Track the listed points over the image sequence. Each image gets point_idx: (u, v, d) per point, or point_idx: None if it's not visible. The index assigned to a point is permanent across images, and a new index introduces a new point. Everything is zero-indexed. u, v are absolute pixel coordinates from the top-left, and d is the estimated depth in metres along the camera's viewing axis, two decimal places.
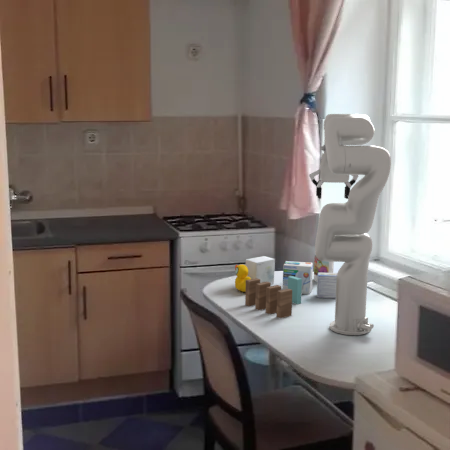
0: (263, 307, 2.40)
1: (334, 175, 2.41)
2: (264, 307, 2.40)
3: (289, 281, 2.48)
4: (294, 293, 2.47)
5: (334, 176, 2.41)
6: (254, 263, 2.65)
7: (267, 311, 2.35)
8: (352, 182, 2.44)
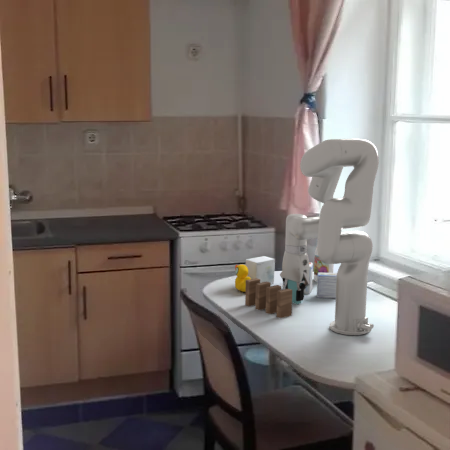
0: (263, 307, 2.40)
1: None
2: (264, 307, 2.40)
3: (289, 281, 2.48)
4: (294, 293, 2.47)
5: None
6: (254, 263, 2.65)
7: (267, 311, 2.35)
8: None
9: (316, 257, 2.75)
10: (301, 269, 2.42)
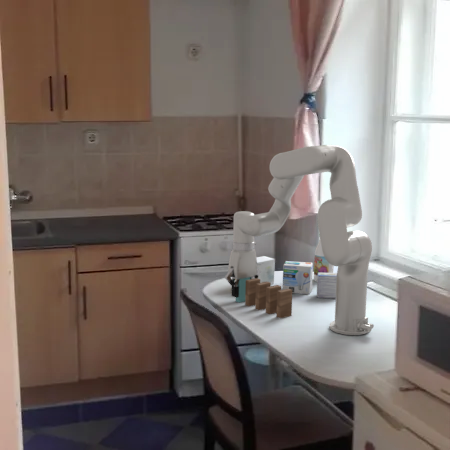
0: (263, 307, 2.40)
1: None
2: (264, 307, 2.40)
3: (241, 282, 2.46)
4: None
5: None
6: None
7: (267, 311, 2.35)
8: None
9: (316, 257, 2.75)
10: None
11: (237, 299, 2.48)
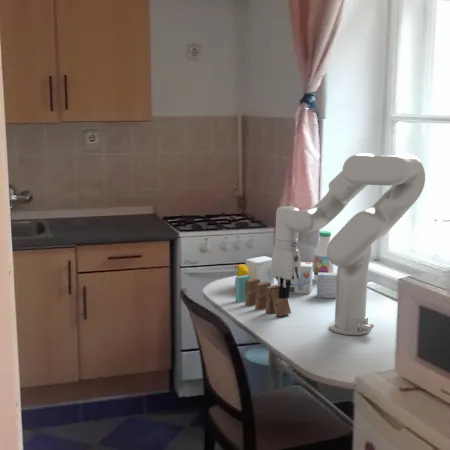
0: (263, 307, 2.40)
1: None
2: (264, 307, 2.40)
3: (241, 282, 2.46)
4: None
5: None
6: (254, 263, 2.65)
7: (267, 311, 2.35)
8: None
9: (316, 257, 2.75)
10: (292, 266, 2.24)
11: (237, 299, 2.48)
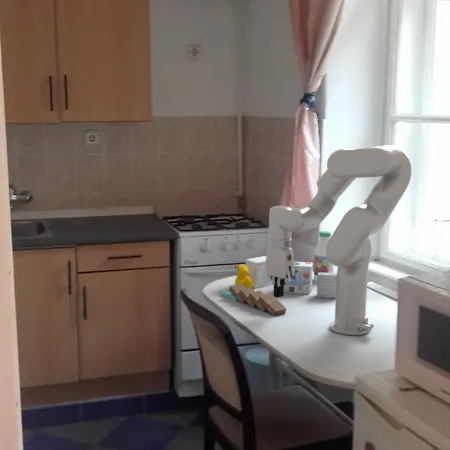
0: None
1: None
2: None
3: (225, 292, 2.55)
4: None
5: None
6: (254, 263, 2.65)
7: (263, 308, 2.37)
8: None
9: (316, 257, 2.75)
10: (285, 264, 2.27)
11: (234, 298, 2.50)
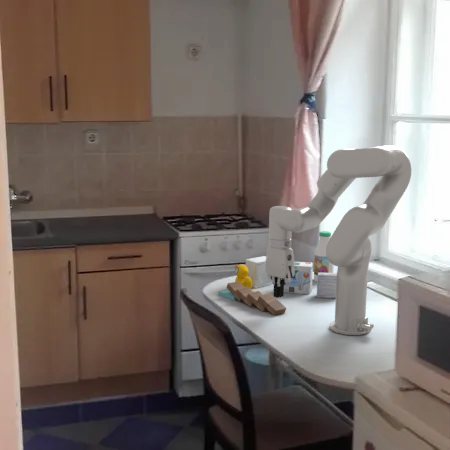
0: None
1: None
2: None
3: (223, 291, 2.56)
4: None
5: None
6: (254, 263, 2.65)
7: (262, 308, 2.37)
8: None
9: (316, 257, 2.75)
10: (285, 265, 2.27)
11: (232, 297, 2.50)
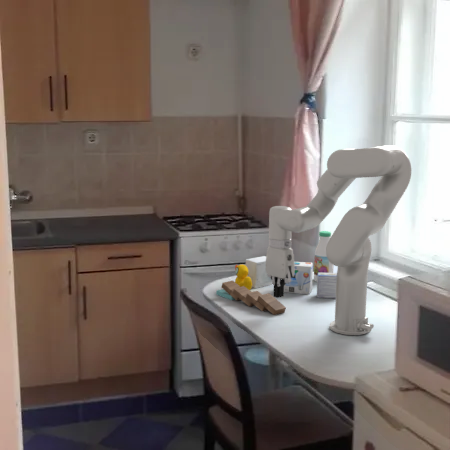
0: None
1: None
2: None
3: (220, 291, 2.56)
4: None
5: None
6: (254, 263, 2.65)
7: (261, 308, 2.37)
8: None
9: (316, 257, 2.75)
10: (285, 265, 2.27)
11: (230, 297, 2.51)
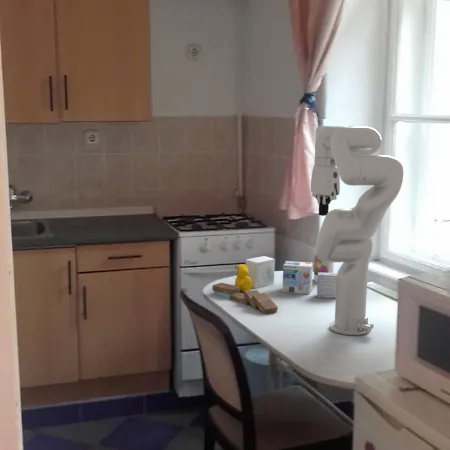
0: None
1: None
2: None
3: None
4: None
5: None
6: (254, 263, 2.65)
7: (254, 305, 2.40)
8: None
9: (316, 257, 2.75)
10: (331, 182, 2.34)
11: (227, 296, 2.52)
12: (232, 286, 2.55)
